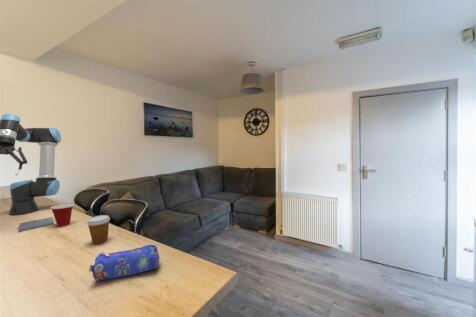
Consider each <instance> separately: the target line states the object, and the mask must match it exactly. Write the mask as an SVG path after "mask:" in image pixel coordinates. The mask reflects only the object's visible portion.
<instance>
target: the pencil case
mask: <svg viewBox="0 0 476 317" xmlns="http://www.w3.org/2000/svg"><path fill="white" fill-rule="evenodd" d="M159 264H160V254H159V251H158V247H157V245H155V244H148V245H144V246H142V247H138V248H133V249H128V250H121V251H116V252H111V253H110V252H109V253H107V252H104V251H101V252H100V253H99V254H98V255H97V257H96V258H95V260H94V263H93V265H92V264H91V265H90V266H89V269H88V272H91V273H92V277H93V279H94V280H95V281H97V282H98V281H99V282H100V281H104V280H105V281H106V280H111V279H117V278H122V277H128V276H132V275H136V274H139V273H143V272H148V271H153V270H157V269H158V268H159Z"/></svg>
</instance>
